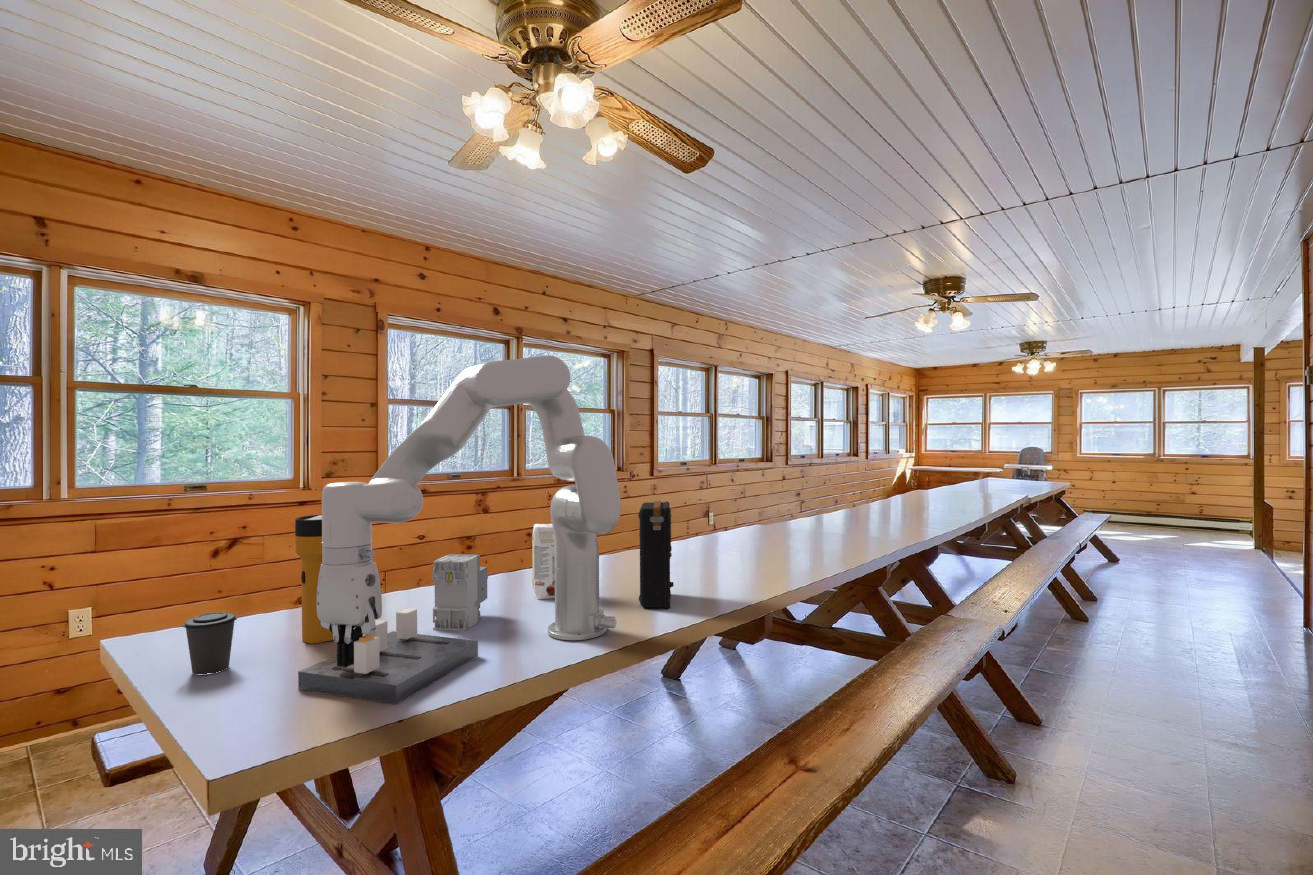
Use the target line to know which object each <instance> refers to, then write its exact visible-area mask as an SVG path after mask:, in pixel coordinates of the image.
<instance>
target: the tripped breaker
mask: <svg viewBox="0 0 1313 875" xmlns="http://www.w3.org/2000/svg"><path fill="white" fill-rule="evenodd" d="M379 667H380V665H379V637H374V635H373V634H367V635H365V636H364V635H363V636H362V637H360V638H359V640H358V641H355V642H354V672H356V673H363V674H367V673H369V672H371V671H373V670H375V669H377V668H379Z"/></svg>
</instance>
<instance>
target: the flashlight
mask: <svg viewBox="0 0 1313 875" xmlns="http://www.w3.org/2000/svg"><path fill="white" fill-rule="evenodd" d="M294 524H295V525H294V535H295V536H294V538H295V539H294V540H295V544H294V545H295V548H294V549H295V553H296V555H297V556H298V557H299V558H300V560H301V562H300V563H301V566H300V567H301V573H300V578H301V579H300V581H301V638H302V641H304V642H305V643H307V644H321V643H326V641H327V642H331V641H334V639H333V634H332V632H331V631H330V629H327V628H324V627H322V626H321V620H319V619H318V616H317V586H318V578H319V572H320V567H321V564H322V514H314V515H313V514H312V515H305V516H300V517H296V518H295V519H294Z"/></svg>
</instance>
